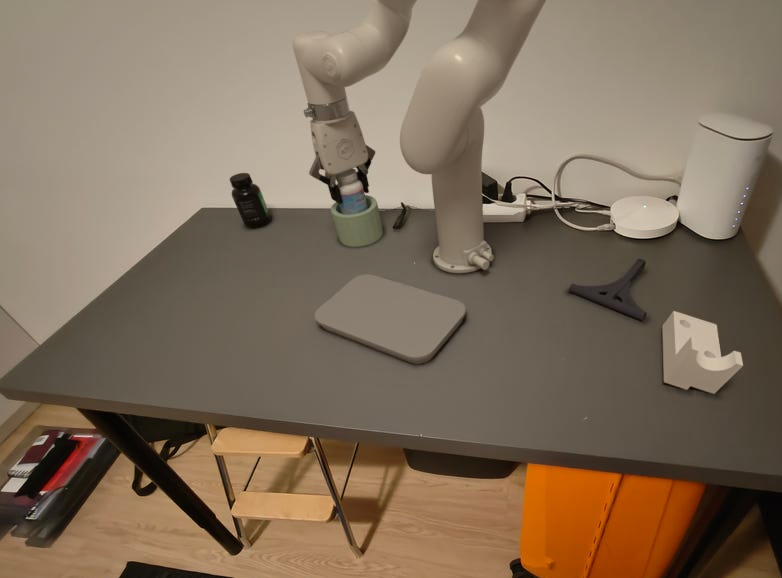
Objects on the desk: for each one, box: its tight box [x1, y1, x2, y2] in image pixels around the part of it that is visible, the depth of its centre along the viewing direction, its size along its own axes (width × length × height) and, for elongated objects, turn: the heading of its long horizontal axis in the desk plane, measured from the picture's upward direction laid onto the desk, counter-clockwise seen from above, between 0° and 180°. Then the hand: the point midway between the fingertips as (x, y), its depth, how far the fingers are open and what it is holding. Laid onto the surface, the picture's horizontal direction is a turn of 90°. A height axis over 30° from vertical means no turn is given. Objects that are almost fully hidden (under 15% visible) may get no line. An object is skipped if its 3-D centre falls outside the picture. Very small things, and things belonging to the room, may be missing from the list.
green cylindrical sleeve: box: [330, 194, 384, 248], centre depth 107 cm, size 10×10×8 cm
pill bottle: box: [336, 168, 368, 215], centre depth 103 cm, size 6×6×11 cm
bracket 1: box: [568, 257, 648, 322], centre depth 86 cm, size 14×15×3 cm
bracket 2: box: [662, 310, 744, 395], centre depth 70 cm, size 13×7×8 cm, turn 163°
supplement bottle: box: [229, 172, 272, 229], centre depth 115 cm, size 7×7×12 cm
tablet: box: [314, 274, 467, 365], centre depth 85 cm, size 16×26×2 cm, turn 59°
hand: (351, 195), depth 102 cm, fingers closed on pill bottle, 6 cm apart
